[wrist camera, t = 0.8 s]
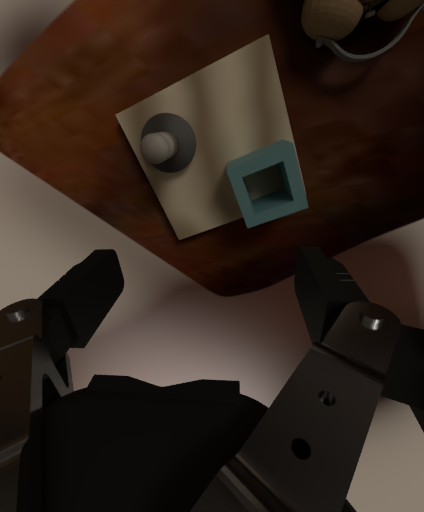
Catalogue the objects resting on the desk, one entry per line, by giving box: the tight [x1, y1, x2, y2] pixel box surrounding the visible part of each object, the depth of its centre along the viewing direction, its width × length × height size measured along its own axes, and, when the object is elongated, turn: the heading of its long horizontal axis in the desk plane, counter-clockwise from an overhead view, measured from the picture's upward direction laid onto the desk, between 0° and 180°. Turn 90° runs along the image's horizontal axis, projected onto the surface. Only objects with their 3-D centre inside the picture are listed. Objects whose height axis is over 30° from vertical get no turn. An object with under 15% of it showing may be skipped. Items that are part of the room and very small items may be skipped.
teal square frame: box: [226, 139, 308, 228], centre depth 25 cm, size 6×6×5 cm
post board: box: [116, 34, 306, 240], centre depth 24 cm, size 16×15×8 cm
